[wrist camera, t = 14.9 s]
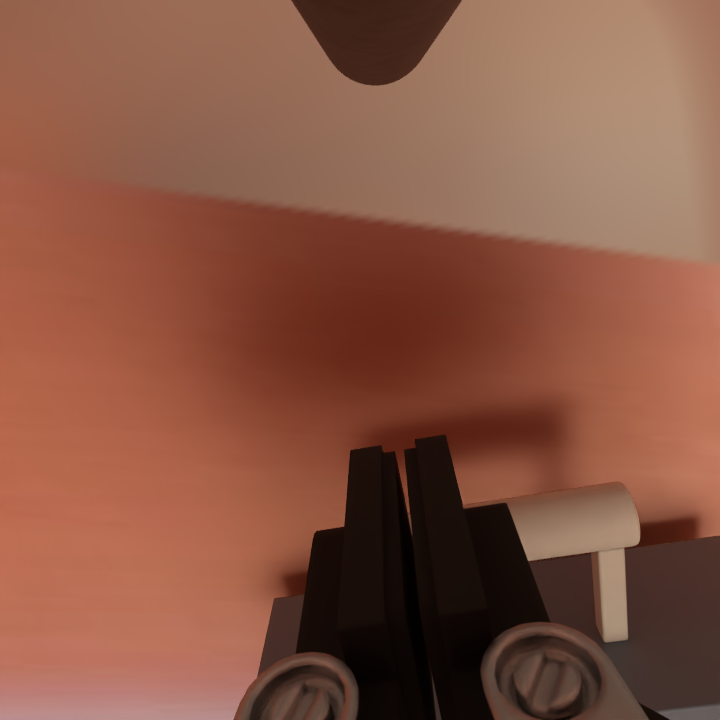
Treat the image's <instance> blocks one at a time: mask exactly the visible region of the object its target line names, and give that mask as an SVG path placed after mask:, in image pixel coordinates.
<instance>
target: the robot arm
mask: <svg viewBox="0 0 720 720" xmlns="http://www.w3.org/2000/svg"><path fill="white" fill-rule="evenodd" d="M415 444H416V448H411V449H405V450H404V454H405V465H406V475H407V485H408V496H409V506H410V517H411V527H412V532H411V527H410V523H409V518H408V513H407V508H406V503H405V498H404V493H403V488H402V483H401V478H400V473H399V468H398V463H397V459H396V454H395V451H393V452H386V453H384V452H383V448H382V446H381V445H378V446H372V447H366V448H360V449H354V450H351V451H350V461H349V474H348V487H347V500H346V513H345V526H344V527H340V528H334V529H327V530H320V531H316V532H315V534H314V538H313V543H312V549H311V556H310V562H309V569H308V575H307V582H306V588H305V595H304V601H303V608H302V614H301V621H300V627H299V634H298V640H297V647H296V654H294V655H292V656H289V657H287V658H284V659H282V660H279V661H277V662H276V663H275V664H273V665H272V666H270V667H269V668H267V669H266V670H264V671H263V672H262V673H261V674H260V675H259V676H258V677H257V678H256V679H255V681H254V682H253V683H252V684H251V685H250V686H249V688H248V689H247V691H246V693H245V695H244V697H243V699H242V700H241V702H240V704H239V707H238V710H237V712H236V715H235V717H234V720H436V710H435V701H434V692H433V682H432V677H433V681H434V686H435V691H436V696H437V700H438V705H439V710H440V715H441V720H670V719H668V718H666V717H665V716H663V715H661V714H659V713H657V712H655V711H654V710H652V709H650V708H648V707H646V706H644V705H642V704H641V703H639V702H637V700H636V699H635V697H634V696H633V694H632V692H631V691H630V689H629V688H628V686H627V685H626V683H625V682H624V680H623V679H622V677H621V676H620V674H619V672H618V671H617V669H616V668H615V666H614V665H613V663H612V662H611V660H610V659H609V657H608V656H607V655H606V654H605V652H604V651H603V650H602V649H601V648H600V647H599V646H598V645H597V643H596V642H595V641H593V640H592V639H590V638H589V637H587V636H586V635H584V634H583V633H581V632H580V631H578V630H575V629H572V628H570V627H567V626H564V625H561V624H556V623H551V622H550V619H549V617H548V614H547V611H546V608H545V606H544V603H543V600H542V597H541V595H540V592H539V589H538V587H537V584H536V581H535V578H534V576H533V573H532V570H531V567H530V565H529V562H528V559H527V556H526V554H525V551H524V548H523V545H522V543H521V540H520V537H519V534H518V532H517V529H516V526H515V523H514V521H513V518H512V515H511V512H510V510H509V507H508V505H507V504H506V503H505V502H504V503H498V504H491V505H485V506H478V507H471V508H465V509H463V504H462V500H461V496H460V492H459V488H458V484H457V480H456V475H455V471H454V467H453V463H452V459H451V455H450V451H449V446H448V442H447V438H446V435H439V436H433V437H427V438H421V439H415ZM431 672H432V673H431Z"/></svg>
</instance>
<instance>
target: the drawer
mask: <svg viewBox="0 0 720 720" xmlns="http://www.w3.org/2000/svg"><path fill="white" fill-rule="evenodd" d="M504 502H505V503H506V504H507V505H508V507H509V510H510V512H511V515H512V518H513V521H514V523H515V526H516V529H517V532H518V534H519V537H520V540H521V543H522V545H523V548H524V551H525V554H526V556H527V559H528V561H532V560H540V559H547V558H554V557H561V556H568V555H575V554H582V553H589V552H591V554H585V555H578V556H571V557H564V558H557V559H550V560H543V561H536V562H529V565H530V567H531V570H532V573H533V576H534V578H535V581H536V584H537V587H538V589H539V592H540V595H541V597H542V600H543V603H544V606H545V608H546V611H547V614H548V617H549V619H550V622H551V623H556V624H561V625H564V626H567V627H570V628H572V629H575V630H578V631H580V632H581V633H583V634H584V635H586V636H587V637H589V638H590V639H592V640H593V641H595V642H596V643H597V645H598V646H599V647H600V648H601V649H602V650H603V651H604V652H605V654H606V655H607V656H608V657H609V659H610V660H611V662H612V663H613V665H614V666H615V668H616V669H617V671H618V672H619V674H620V676H621V677H622V679H623V680H624V682H625V683H626V685H627V686H628V688H629V689H630V691H631V692H632V694H633V696H634V697H635V699H636V700H637V702H639V703H641V704H642V705H644V706H646V707H648V708H650V709H652V710H654V711H655V712H657V713H659V714H661V715H663V716H665V717H666V718H668V719H670V720H720V536H713V537H706V538H699V539H692V540H685V541H677V542H670V543H663V544H656V545H649V546H642V547H635V548H628V549H624V547H631V546H635V545H637V544H638V543H639V541H640V523H639V518H638V514H637V510H636V507H635V504H634V501H633V499H632V497H631V495H630V493H629V491H628V490H627V488H626V487H625V485H624V484H622V483H620V482H611V483H605V484H598V485H592V486H585V487H579V488H572V489H565V490H559V491H552V492H546V493H539V494H533V495H526V496H519V497H513V498H506V499H500V500H493V501H486V502H480V503H473V504H467V505H463V509H465V508H471V507H478V506H485V505H491V504H498V503H504ZM408 518H409V523H410V527H411V517H410V513H408ZM411 532H412V527H411ZM304 595H305V594H302V595H295V596H288V597H281V598H275V599H274V601H273V606H272V611H271V615H270V620H269V625H268V630H267V634H266V639H265V644H264V648H263V653H262V658H261V662H260V667H259V672H258V676H259V675H260V674H261V673H262V672H263V671H264V670H266V669H267V668H269V667H270V666H272V665H273V664H275V663H276V662H277V661H279V660H282V659H284V658H287V657H289V656H292V655H294V654H296V647H297V640H298V634H299V627H300V621H301V614H302V608H303V601H304ZM431 673H432V672H431ZM258 676H257V677H258ZM432 682H433V692H434V701H435V710H436V720H441V715H440V710H439V705H438V700H437V696H436V691H435V686H434V681H433V677H432Z"/></svg>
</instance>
